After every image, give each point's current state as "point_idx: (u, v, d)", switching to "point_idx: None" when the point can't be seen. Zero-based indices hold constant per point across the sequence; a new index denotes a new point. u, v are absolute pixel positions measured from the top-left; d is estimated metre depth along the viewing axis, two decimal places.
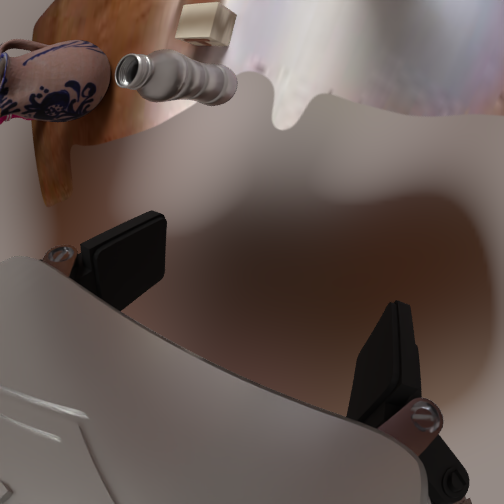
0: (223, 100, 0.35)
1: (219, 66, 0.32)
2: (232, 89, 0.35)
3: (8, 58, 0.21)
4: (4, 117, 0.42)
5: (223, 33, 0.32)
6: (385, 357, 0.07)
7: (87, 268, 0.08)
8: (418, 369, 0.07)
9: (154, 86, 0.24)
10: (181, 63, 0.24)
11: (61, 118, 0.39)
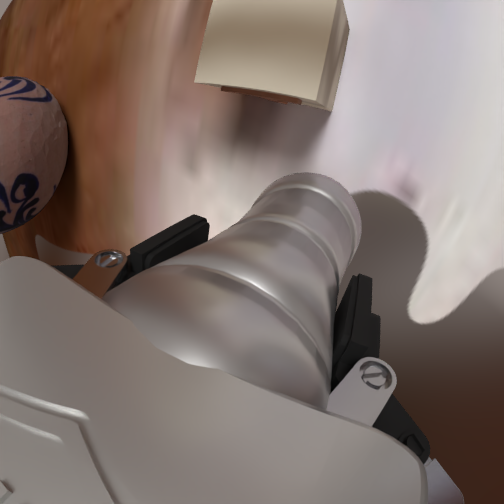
0: None
1: (337, 201, 0.13)
2: None
3: None
4: None
5: (333, 80, 0.12)
6: (342, 321, 0.08)
7: (136, 273, 0.08)
8: (378, 336, 0.08)
9: None
10: None
11: None
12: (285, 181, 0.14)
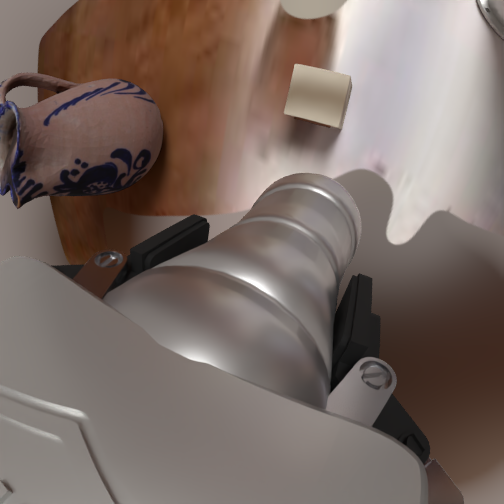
0: None
1: (337, 201, 0.13)
2: None
3: (20, 115, 0.18)
4: None
5: (343, 115, 0.28)
6: (342, 321, 0.08)
7: (137, 273, 0.08)
8: (378, 336, 0.08)
9: None
10: None
11: (103, 193, 0.35)
12: (285, 182, 0.14)
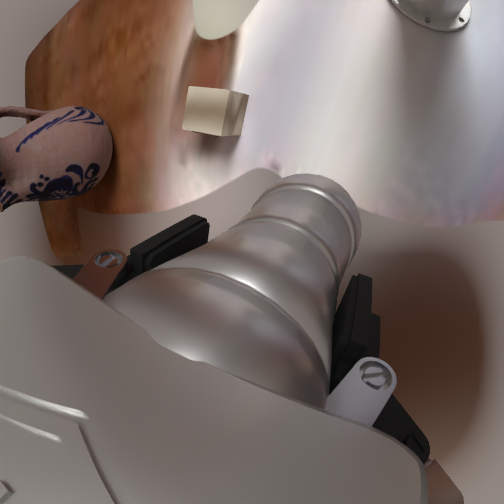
0: None
1: (336, 202, 0.13)
2: None
3: None
4: None
5: (235, 123, 0.35)
6: (342, 321, 0.08)
7: (137, 273, 0.08)
8: (378, 336, 0.08)
9: None
10: None
11: (66, 198, 0.42)
12: (285, 182, 0.14)
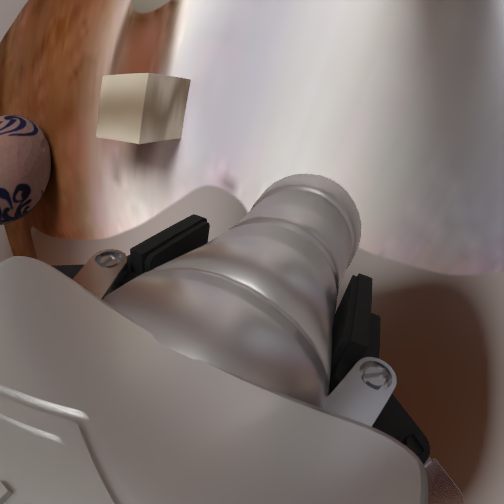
0: None
1: (336, 202, 0.13)
2: None
3: None
4: None
5: (168, 122, 0.23)
6: (342, 321, 0.08)
7: (137, 273, 0.08)
8: (378, 336, 0.08)
9: None
10: None
11: (1, 224, 0.30)
12: (285, 182, 0.14)
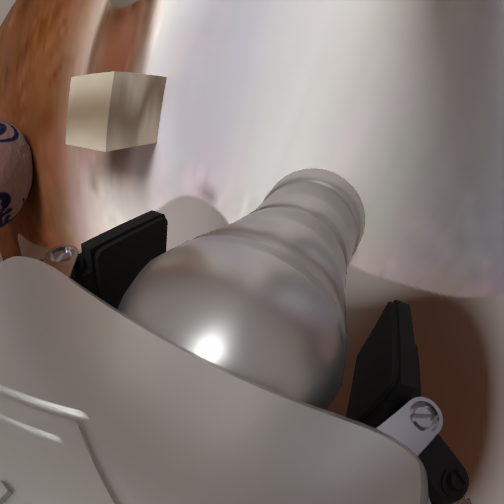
0: None
1: (343, 194, 0.14)
2: None
3: None
4: None
5: (140, 125, 0.20)
6: (384, 356, 0.07)
7: (88, 268, 0.08)
8: (417, 368, 0.07)
9: None
10: (339, 374, 0.06)
11: None
12: (296, 176, 0.15)
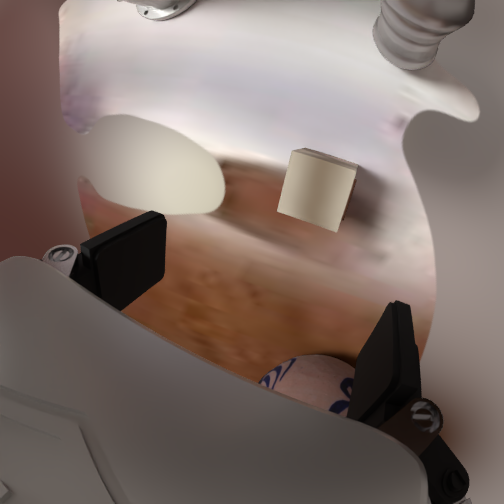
0: None
1: None
2: None
3: None
4: None
5: (341, 161, 0.26)
6: (385, 357, 0.07)
7: (87, 268, 0.08)
8: (418, 369, 0.07)
9: None
10: None
11: None
12: (377, 38, 0.18)
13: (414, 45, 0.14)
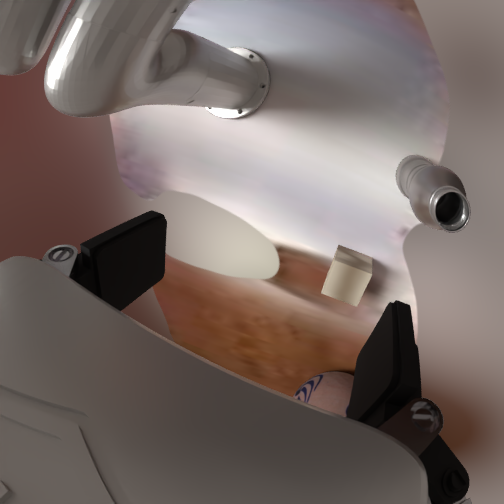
0: None
1: (405, 163, 0.31)
2: (426, 158, 0.31)
3: None
4: None
5: (362, 260, 0.41)
6: (385, 357, 0.07)
7: (87, 268, 0.08)
8: (418, 369, 0.07)
9: None
10: (436, 166, 0.22)
11: None
12: (398, 182, 0.33)
13: None
